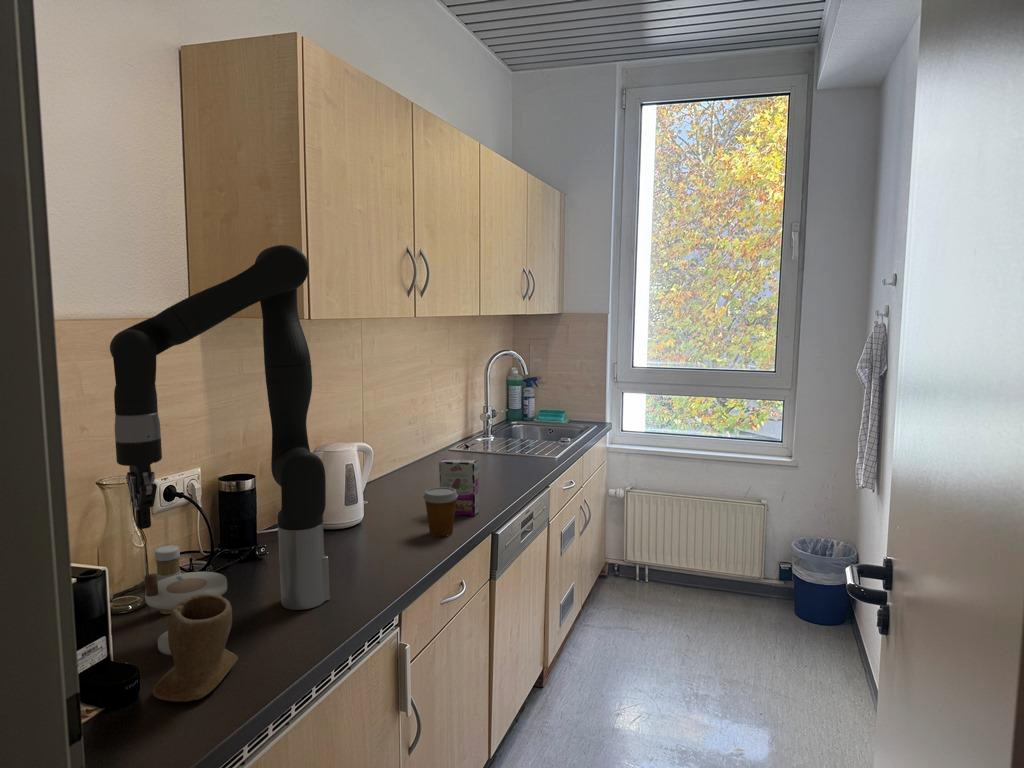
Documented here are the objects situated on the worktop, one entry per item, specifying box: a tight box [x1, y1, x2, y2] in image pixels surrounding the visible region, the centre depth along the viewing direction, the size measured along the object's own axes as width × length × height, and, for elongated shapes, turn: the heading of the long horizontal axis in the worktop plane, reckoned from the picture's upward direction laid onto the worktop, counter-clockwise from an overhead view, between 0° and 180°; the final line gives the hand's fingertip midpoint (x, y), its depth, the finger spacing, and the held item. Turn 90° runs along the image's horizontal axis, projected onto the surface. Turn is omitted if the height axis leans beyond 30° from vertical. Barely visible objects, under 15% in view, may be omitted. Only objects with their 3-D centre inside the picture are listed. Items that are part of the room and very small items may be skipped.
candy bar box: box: [438, 458, 480, 517], centre depth 214 cm, size 11×5×16 cm, turn 76°
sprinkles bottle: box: [154, 545, 182, 615], centre depth 147 cm, size 5×5×14 cm
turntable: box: [144, 571, 228, 610], centre depth 133 cm, size 14×14×5 cm
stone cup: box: [152, 594, 239, 703], centre depth 119 cm, size 15×12×15 cm
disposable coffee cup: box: [423, 486, 458, 537], centre depth 196 cm, size 10×10×12 cm
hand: (143, 527), depth 133 cm, fingers closed
